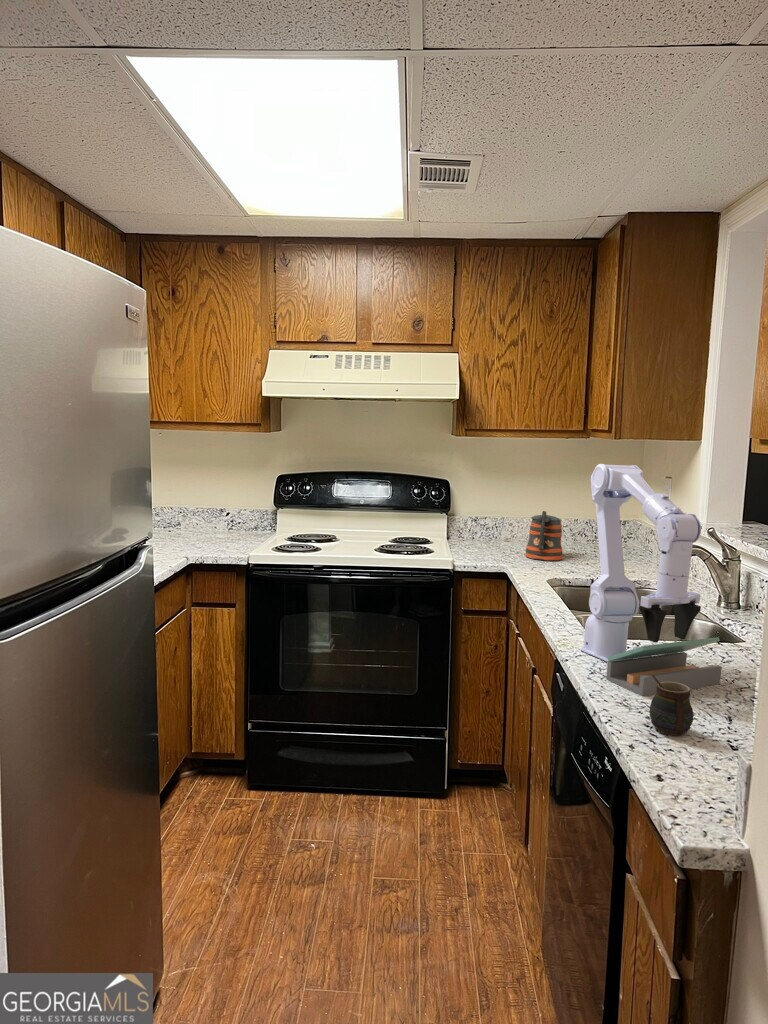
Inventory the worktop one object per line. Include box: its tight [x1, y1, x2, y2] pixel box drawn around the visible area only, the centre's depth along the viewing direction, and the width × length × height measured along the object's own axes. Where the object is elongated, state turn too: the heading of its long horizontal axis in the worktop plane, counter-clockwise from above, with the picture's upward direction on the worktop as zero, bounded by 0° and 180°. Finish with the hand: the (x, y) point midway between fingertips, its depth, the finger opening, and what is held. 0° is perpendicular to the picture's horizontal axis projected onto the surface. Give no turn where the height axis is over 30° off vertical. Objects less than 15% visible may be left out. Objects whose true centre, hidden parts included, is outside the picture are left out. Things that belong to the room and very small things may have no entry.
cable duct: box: [605, 651, 723, 697], centre depth 154 cm, size 11×22×4 cm, turn 116°
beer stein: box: [525, 510, 563, 562], centre depth 291 cm, size 19×15×20 cm
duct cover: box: [607, 636, 720, 661], centre depth 153 cm, size 10×22×1 cm, turn 117°
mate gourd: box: [649, 674, 695, 737], centre depth 128 cm, size 7×8×10 cm
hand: (666, 639), depth 149 cm, fingers open, 7 cm apart
